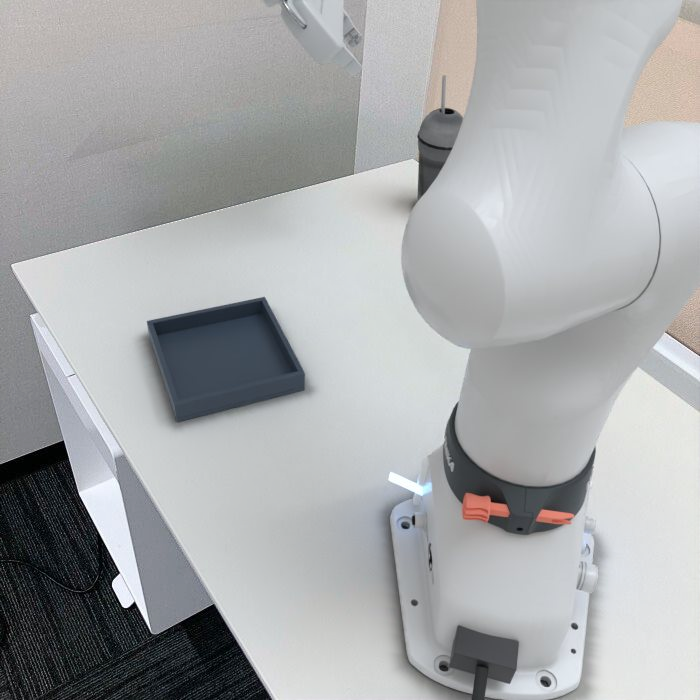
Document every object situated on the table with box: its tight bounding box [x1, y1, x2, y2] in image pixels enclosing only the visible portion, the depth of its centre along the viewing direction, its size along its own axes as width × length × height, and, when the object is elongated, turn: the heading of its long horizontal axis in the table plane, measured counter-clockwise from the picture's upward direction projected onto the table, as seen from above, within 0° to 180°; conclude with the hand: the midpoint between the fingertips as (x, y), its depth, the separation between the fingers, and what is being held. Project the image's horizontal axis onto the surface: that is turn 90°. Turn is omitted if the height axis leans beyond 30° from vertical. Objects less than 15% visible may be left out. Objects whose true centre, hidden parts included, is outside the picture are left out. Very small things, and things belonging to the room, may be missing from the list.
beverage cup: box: [416, 75, 464, 201], centre depth 105 cm, size 7×7×20 cm
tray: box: [146, 296, 306, 423], centre depth 83 cm, size 14×14×3 cm
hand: (357, 56), depth 96 cm, fingers open, 8 cm apart
